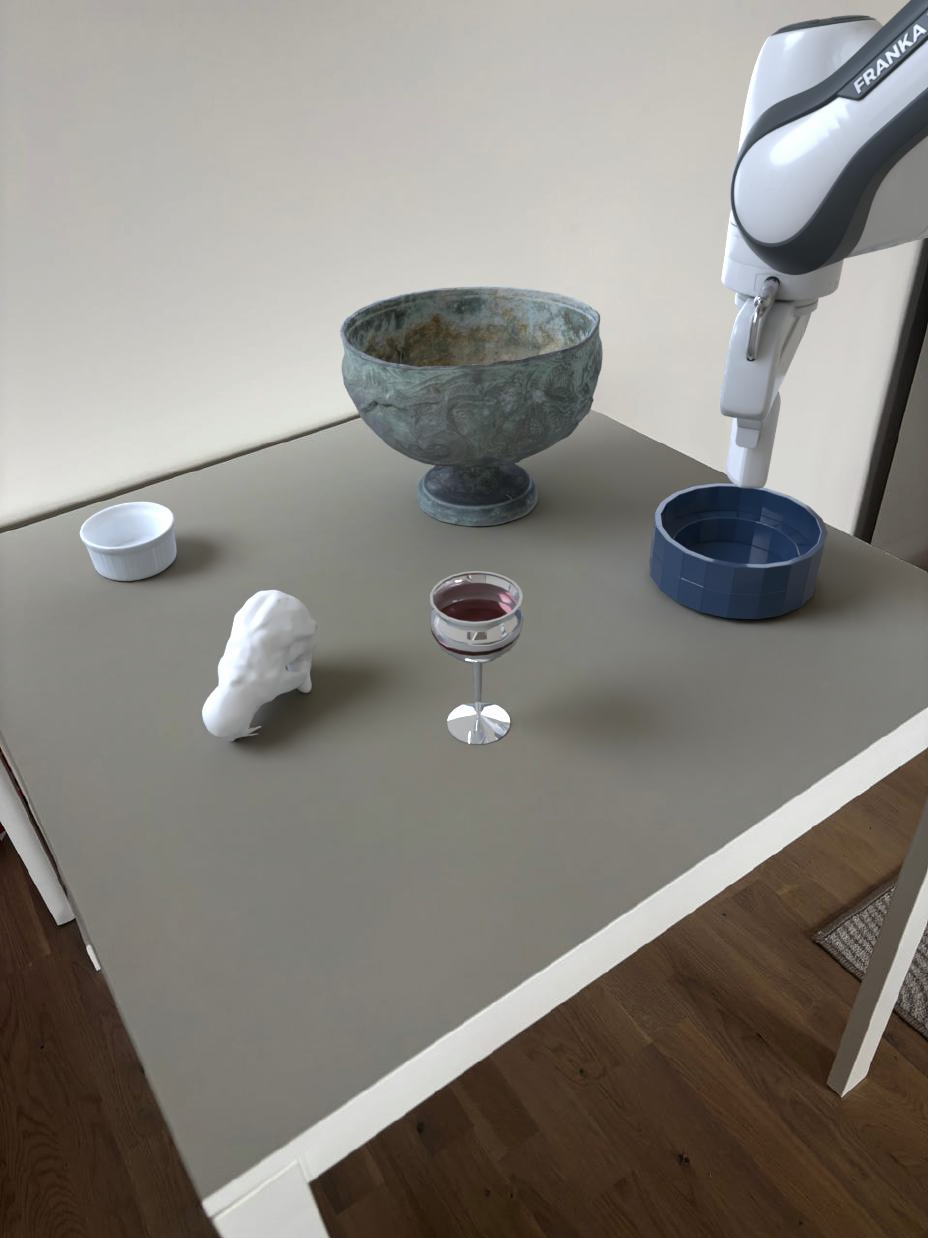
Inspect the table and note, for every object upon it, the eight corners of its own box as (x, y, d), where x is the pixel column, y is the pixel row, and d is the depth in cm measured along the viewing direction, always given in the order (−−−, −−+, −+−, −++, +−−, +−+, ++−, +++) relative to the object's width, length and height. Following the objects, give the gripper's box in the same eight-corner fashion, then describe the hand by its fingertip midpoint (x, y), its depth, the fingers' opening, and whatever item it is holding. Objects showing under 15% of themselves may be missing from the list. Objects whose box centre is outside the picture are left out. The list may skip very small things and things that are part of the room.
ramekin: (187, 574, 95) (178, 536, 92) (92, 593, 92) (81, 554, 90) (176, 531, 101) (168, 494, 99) (88, 548, 99) (77, 511, 96)
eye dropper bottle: (710, 482, 85) (729, 348, 78) (733, 457, 89) (753, 328, 82) (759, 494, 83) (783, 358, 76) (780, 469, 87) (805, 337, 80)
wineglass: (538, 730, 75) (542, 603, 68) (465, 764, 72) (461, 635, 65) (490, 684, 80) (489, 560, 73) (419, 714, 77) (411, 589, 70)
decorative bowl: (418, 584, 91) (413, 377, 80) (313, 481, 110) (296, 302, 99) (640, 519, 102) (662, 330, 91) (510, 436, 121) (516, 270, 110)
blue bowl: (824, 553, 95) (836, 499, 92) (801, 640, 84) (814, 582, 80) (671, 524, 100) (677, 472, 97) (630, 602, 89) (635, 546, 86)
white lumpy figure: (317, 587, 76) (234, 690, 68) (333, 666, 82) (258, 769, 74) (248, 572, 78) (160, 670, 70) (269, 649, 84) (189, 748, 76)
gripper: (805, 306, 66) (771, 487, 74) (840, 232, 81) (809, 389, 89) (712, 296, 68) (690, 473, 76) (763, 226, 83) (740, 379, 91)
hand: (754, 427), depth 83 cm, fingers closed on eye dropper bottle, 5 cm apart
